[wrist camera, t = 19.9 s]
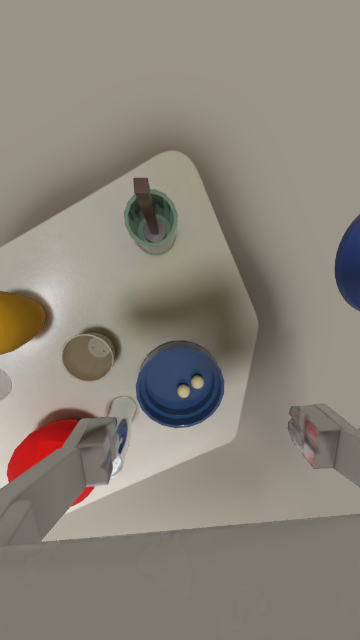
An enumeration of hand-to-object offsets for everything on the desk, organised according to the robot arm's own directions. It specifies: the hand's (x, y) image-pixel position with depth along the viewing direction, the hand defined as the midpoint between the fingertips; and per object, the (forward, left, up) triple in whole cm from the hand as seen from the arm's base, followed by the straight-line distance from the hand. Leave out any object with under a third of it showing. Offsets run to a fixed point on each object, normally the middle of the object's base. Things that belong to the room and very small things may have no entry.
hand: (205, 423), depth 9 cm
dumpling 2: (-4, +17, -33) cm, 37 cm away
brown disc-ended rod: (+4, -16, -34) cm, 38 cm away
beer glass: (+14, +24, -35) cm, 45 cm away
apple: (+32, 0, -35) cm, 48 cm away
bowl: (0, +17, -35) cm, 39 cm away
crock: (+4, -16, -35) cm, 39 cm away
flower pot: (+18, +8, -35) cm, 40 cm away
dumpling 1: (-1, +19, -33) cm, 38 cm away
